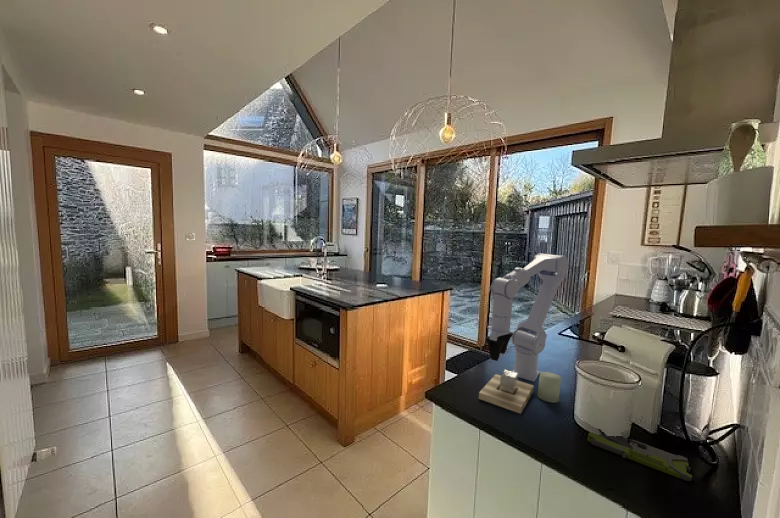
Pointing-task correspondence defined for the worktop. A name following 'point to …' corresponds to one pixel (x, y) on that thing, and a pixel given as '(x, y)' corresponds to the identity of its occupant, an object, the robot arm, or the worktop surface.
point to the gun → (643, 454)
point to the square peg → (508, 382)
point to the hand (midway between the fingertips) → (497, 356)
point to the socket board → (506, 395)
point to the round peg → (549, 387)
